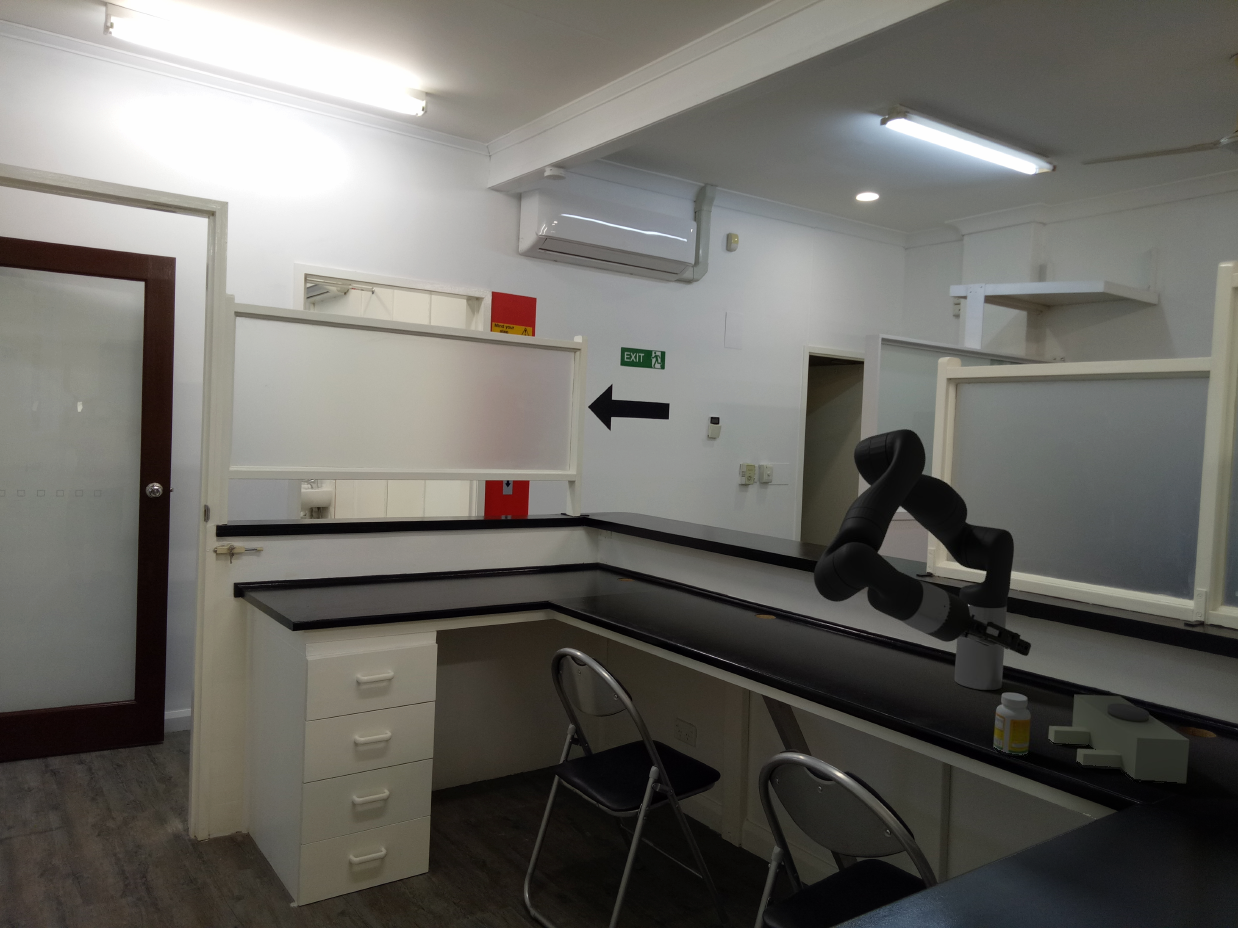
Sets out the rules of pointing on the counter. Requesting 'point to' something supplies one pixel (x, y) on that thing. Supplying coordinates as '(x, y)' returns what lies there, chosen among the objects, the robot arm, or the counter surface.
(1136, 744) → the olive footed block
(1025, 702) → the supplement bottle
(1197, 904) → the counter surface
